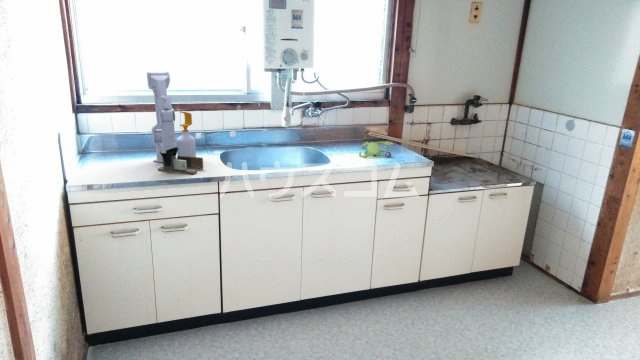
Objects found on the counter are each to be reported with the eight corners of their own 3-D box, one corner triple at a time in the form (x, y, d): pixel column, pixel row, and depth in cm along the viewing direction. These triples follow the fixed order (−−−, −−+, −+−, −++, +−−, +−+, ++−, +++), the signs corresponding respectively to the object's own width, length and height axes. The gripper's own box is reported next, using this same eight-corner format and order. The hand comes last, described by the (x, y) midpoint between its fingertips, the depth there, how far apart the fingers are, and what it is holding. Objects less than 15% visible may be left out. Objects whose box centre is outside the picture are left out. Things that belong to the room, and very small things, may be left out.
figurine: (392, 149, 273) (393, 140, 272) (392, 160, 248) (393, 150, 246) (361, 147, 276) (362, 138, 274) (358, 158, 251) (358, 148, 249)
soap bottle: (174, 159, 234) (171, 111, 227) (185, 155, 242) (182, 109, 235) (188, 161, 231) (186, 113, 223) (199, 157, 239) (197, 110, 232)
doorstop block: (176, 167, 217) (175, 155, 215) (172, 170, 212) (172, 157, 211) (167, 167, 217) (166, 154, 215) (163, 169, 213) (162, 157, 211)
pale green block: (175, 168, 215) (174, 159, 213) (186, 169, 213) (186, 160, 212) (173, 169, 213) (172, 160, 212) (184, 170, 212) (184, 161, 210)
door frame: (169, 165, 224) (169, 154, 223) (204, 168, 220) (203, 157, 218) (157, 170, 215) (157, 159, 213) (193, 174, 211) (193, 163, 209)
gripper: (165, 132, 217) (167, 159, 221) (153, 138, 203) (155, 168, 207) (180, 132, 217) (182, 160, 221) (168, 139, 203) (170, 169, 207)
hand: (170, 164), depth 214 cm, fingers closed on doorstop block, 4 cm apart
